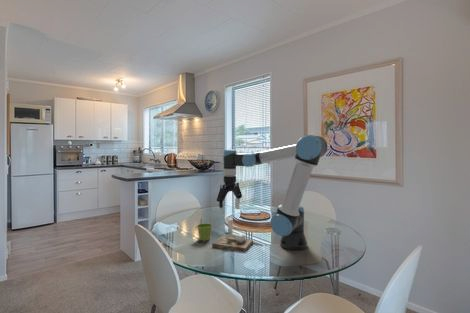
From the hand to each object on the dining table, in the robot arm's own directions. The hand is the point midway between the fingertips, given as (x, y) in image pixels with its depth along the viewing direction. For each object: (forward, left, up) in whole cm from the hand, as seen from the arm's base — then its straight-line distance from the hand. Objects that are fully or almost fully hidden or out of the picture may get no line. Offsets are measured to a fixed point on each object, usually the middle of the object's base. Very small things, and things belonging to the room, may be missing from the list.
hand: (229, 210), depth 162 cm
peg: (-3, +1, -16) cm, 17 cm away
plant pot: (+16, +2, -19) cm, 25 cm away
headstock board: (-4, +5, -19) cm, 20 cm away
